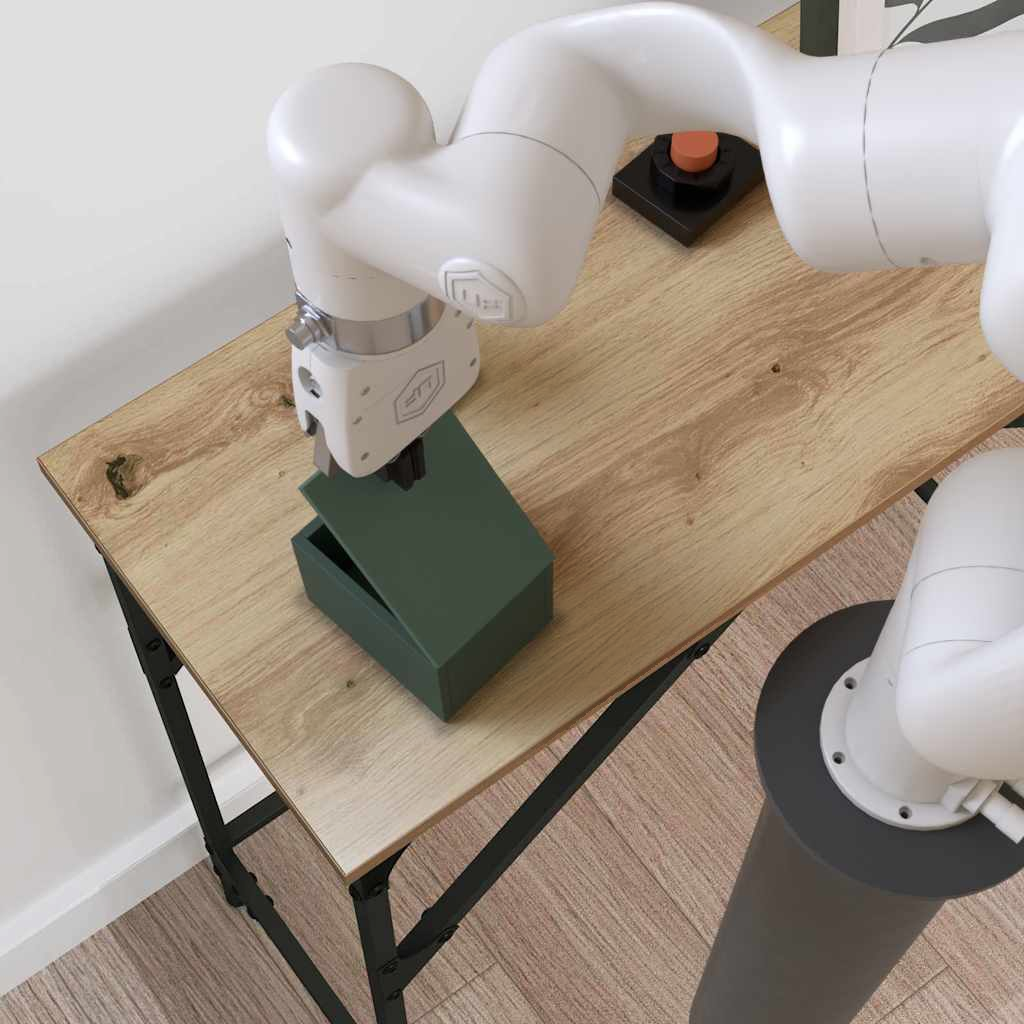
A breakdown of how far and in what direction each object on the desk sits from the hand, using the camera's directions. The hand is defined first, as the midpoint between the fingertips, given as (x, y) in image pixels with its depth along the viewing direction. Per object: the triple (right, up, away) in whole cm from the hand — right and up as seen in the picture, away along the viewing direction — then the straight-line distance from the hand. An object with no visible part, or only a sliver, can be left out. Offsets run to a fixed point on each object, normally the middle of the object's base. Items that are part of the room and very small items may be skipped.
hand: (398, 469), depth 97 cm
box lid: (+2, -3, +3) cm, 5 cm away
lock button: (+21, +26, +30) cm, 45 cm away
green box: (+1, -9, +15) cm, 18 cm away
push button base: (+21, +24, +33) cm, 46 cm away
